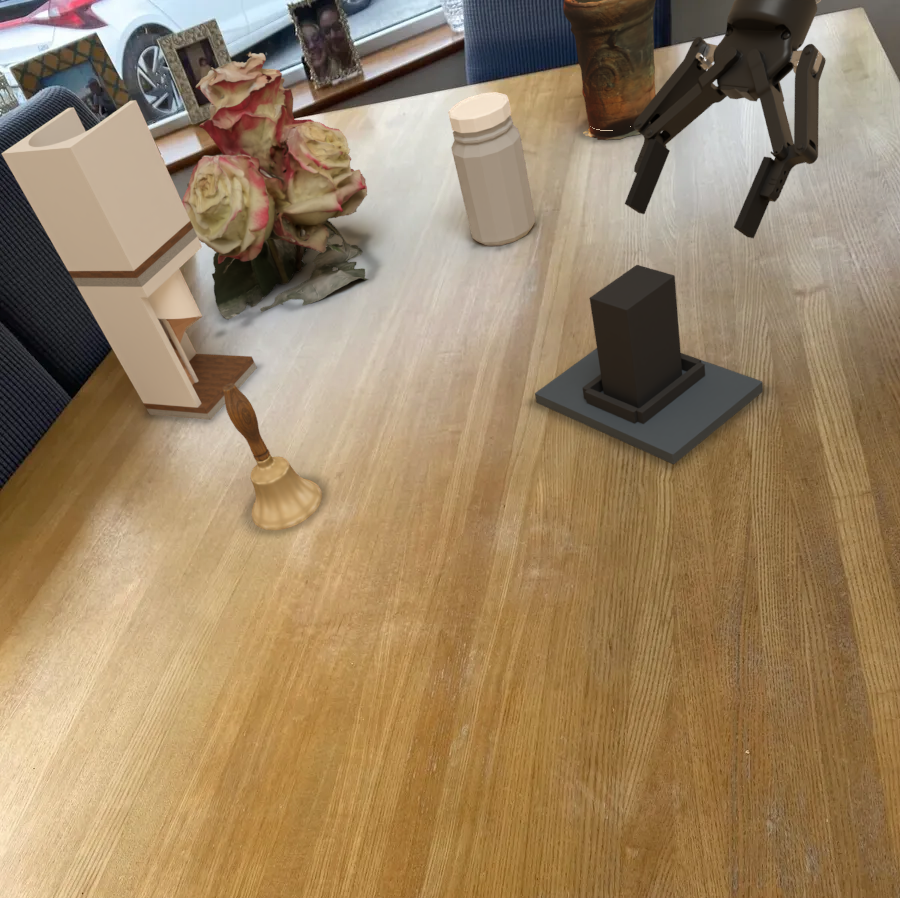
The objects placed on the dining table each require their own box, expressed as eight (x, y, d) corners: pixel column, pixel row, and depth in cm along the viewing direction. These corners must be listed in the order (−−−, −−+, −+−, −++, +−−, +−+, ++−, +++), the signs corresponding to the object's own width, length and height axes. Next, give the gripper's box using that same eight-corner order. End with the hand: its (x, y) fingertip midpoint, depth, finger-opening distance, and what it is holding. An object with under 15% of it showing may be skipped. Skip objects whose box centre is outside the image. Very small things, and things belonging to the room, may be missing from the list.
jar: (467, 254, 136) (436, 126, 124) (477, 221, 143) (449, 97, 130) (533, 244, 133) (508, 112, 121) (540, 211, 140) (518, 83, 127)
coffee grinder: (211, 421, 122) (70, 147, 97) (150, 415, 126) (1, 153, 102) (257, 369, 128) (135, 100, 103) (197, 366, 133) (68, 108, 108)
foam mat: (763, 393, 99) (762, 369, 96) (673, 466, 94) (671, 442, 92) (621, 342, 111) (618, 319, 109) (536, 404, 107) (532, 382, 105)
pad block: (682, 377, 101) (674, 275, 93) (638, 411, 99) (626, 310, 91) (647, 364, 104) (636, 264, 96) (603, 397, 102) (589, 297, 94)
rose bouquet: (215, 339, 137) (115, 128, 116) (240, 248, 157) (159, 54, 136) (385, 298, 133) (313, 71, 112) (388, 210, 153) (328, 5, 132)
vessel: (658, 95, 159) (647, -41, 145) (677, 125, 149) (668, -18, 135) (574, 119, 161) (555, -14, 147) (587, 150, 151) (569, 11, 137)
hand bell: (240, 530, 104) (176, 413, 93) (270, 480, 109) (213, 364, 98) (305, 532, 101) (247, 411, 90) (333, 481, 106) (282, 361, 95)
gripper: (656, -31, 93) (573, 187, 99) (891, -30, 77) (777, 230, 83) (694, 8, 99) (614, 212, 104) (921, 17, 83) (812, 257, 88)
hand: (686, 221), depth 93 cm, fingers open, 13 cm apart
